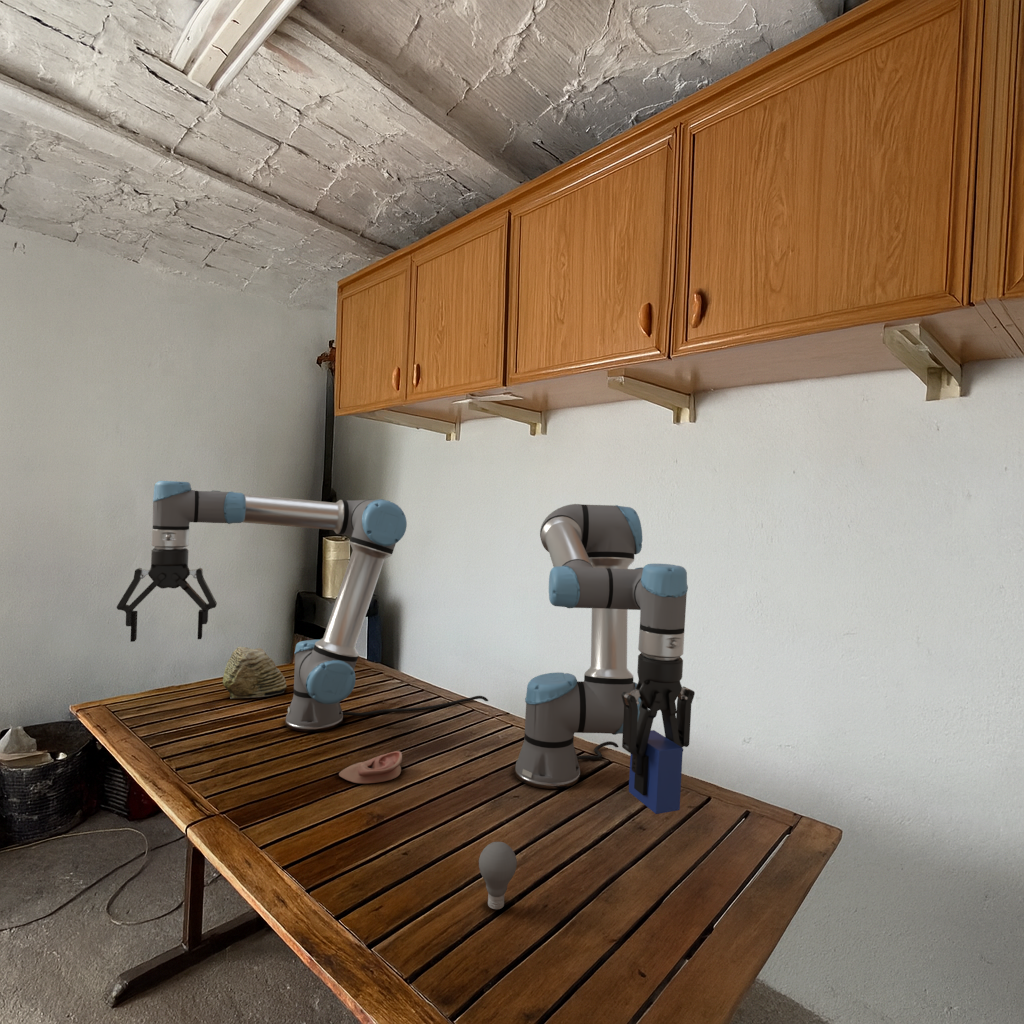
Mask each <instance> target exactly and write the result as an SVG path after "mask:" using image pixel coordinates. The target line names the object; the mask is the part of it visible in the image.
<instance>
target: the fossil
mask: <svg viewBox="0 0 1024 1024" xmlns="http://www.w3.org/2000/svg"><path fill="white" fill-rule="evenodd" d="M222 676H223V677H222V685H223V687H224V688H225V690H226V691H228V693H229V698H230V699H250V698H264V697H271V696H275V695H281V694H284V693H285V691H286V689H287V687H288V686H287V680H286V678H285V676H284V674H283V673H282V672H281V669H279V668H278V667H277V665H276V663H275V662H274V660H273V659H272V658H271V657H270V656H269V655H268V654H267V653H266V652H265V650H264V649H263V648H260V647H258V648H251V647H247V646H246V647H245V646H238V647H237V648H236V649H235V650H233V651H232V653H231V656H230V657H229V659H228V660H227V663H226V666H225V668H224V671H223V675H222Z"/></svg>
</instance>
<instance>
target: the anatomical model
mask: <svg viewBox="0 0 1024 1024" xmlns="http://www.w3.org/2000/svg"><path fill="white" fill-rule="evenodd" d="M402 761H403V754H402V751H399V750H397V751H391V752H387V753H384V754H381V755H377V756H375V757H373V758H370V759H367V760H365V761H361V762H355V763H353V764H351V765H349V766H347V767H345V768H343V769H342V770H341V771H340V772H339V773H338V776H339V777H340V778H342V779H344V780H346V781H347V782H350V783H352V784H353V783H354V784H375V783H383V782H387V781H391V780H393V779H396V778H398V777H399V776H400V774H401V772H402V767H401V763H402Z"/></svg>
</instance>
